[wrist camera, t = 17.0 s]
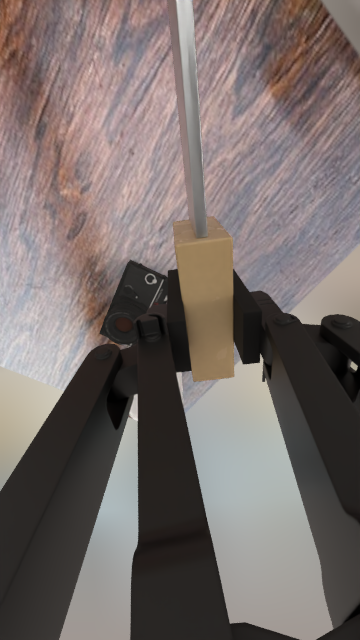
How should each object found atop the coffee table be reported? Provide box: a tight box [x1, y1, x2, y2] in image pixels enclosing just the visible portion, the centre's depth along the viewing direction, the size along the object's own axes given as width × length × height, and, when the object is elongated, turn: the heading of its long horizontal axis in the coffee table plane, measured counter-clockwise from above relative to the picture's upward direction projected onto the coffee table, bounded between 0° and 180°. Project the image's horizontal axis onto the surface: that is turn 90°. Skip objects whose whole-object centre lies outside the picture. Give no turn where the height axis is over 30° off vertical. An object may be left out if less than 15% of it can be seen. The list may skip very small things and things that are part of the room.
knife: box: [167, 0, 234, 382], centre depth 11 cm, size 20×2×5 cm, turn 7°
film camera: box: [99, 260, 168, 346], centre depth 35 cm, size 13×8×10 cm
